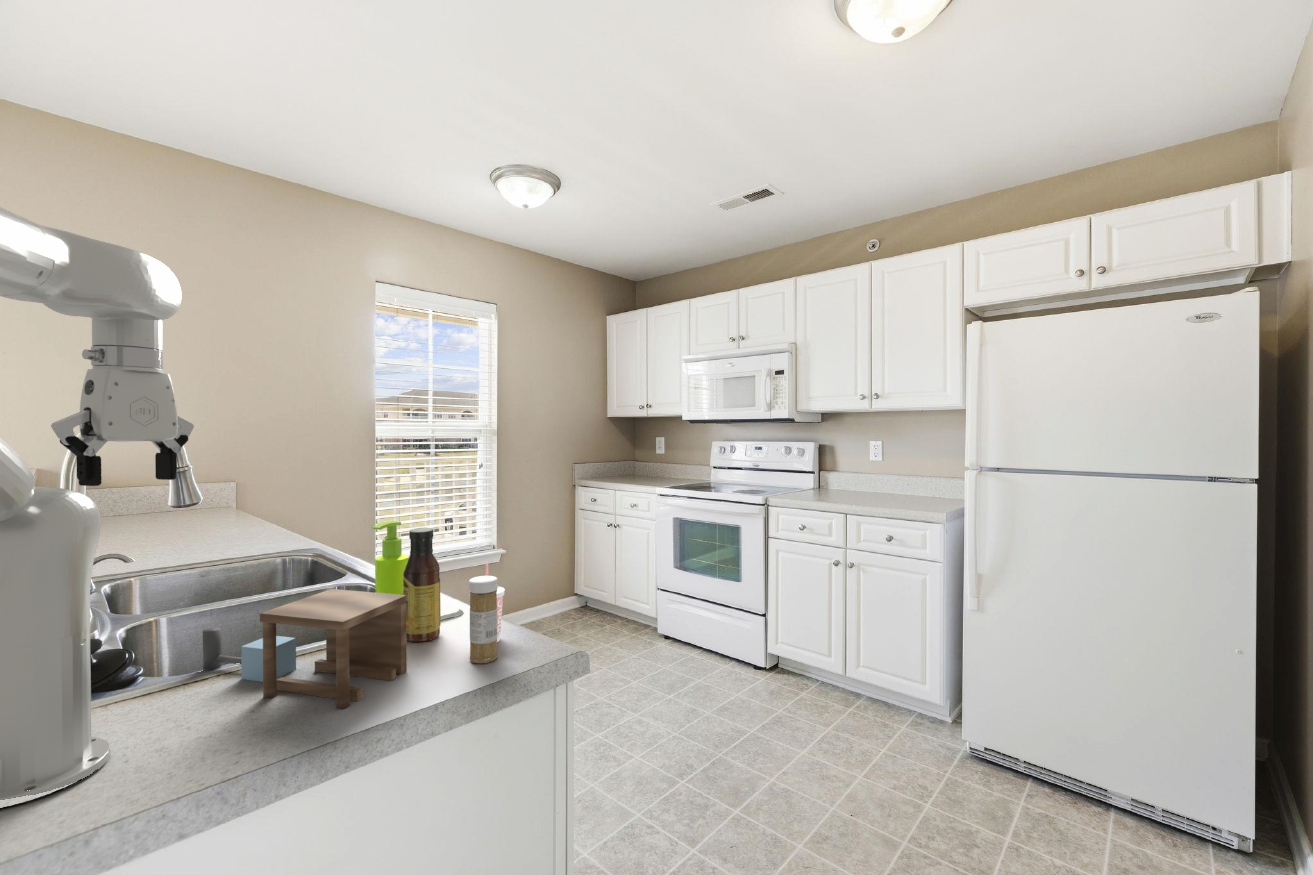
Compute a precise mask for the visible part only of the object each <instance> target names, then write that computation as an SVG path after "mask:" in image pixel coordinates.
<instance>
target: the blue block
mask: <svg viewBox="0 0 1313 875" xmlns="http://www.w3.org/2000/svg"><path fill="white" fill-rule="evenodd" d="M222 633H223V632H222V627H221V626H214V627H209V628H205V629H202V670H203V671H211V669H213V670H216V668H217V669H219V668H222V666H223V665H222V664H223V663H225V664H233V665H237V664H236V663H240V664H239V666H240V669H241V674H240V675H241V680H244V679H246V681H252V682H253V681H254V682H260V683H263V637H262V638H259V639H257V640H253V641H252V642H249V643H247V644H244V645H241V646H240V650H241V651H240V653H241V656H239V657H238V656H231V655H223V654H222V653H223V652H222V651H223V649H222V646H223V645H222V644H223V641H222V640H223V639H222V638H223V637H222ZM218 667H219V668H218ZM276 670H277V679H279V678H281V677H283V676H285V675H287V674H289V673H292V672H294V671H296V670H297V638H296V637H291V636H280V635H276Z"/></svg>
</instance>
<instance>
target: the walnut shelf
mask: <svg viewBox="0 0 1313 875" xmlns="http://www.w3.org/2000/svg"><path fill="white" fill-rule="evenodd" d="M259 622H260V623H262V638H263V682H262V697H263V699H265V700H266V699H271V698H275V697H276V696H277V695H278V694H277V693H278V691H281V692H285V693H286V692H287V693H294V694H301V695H308V696H316V697H322V698H331V699H335V701H336V702H335V706H336V710H344V709H347V708H349V707H350V702H356V703H357V702H358V701H360V700H362V699H363V687H359V686H350V676H351V677H359V678H366V679H367V678H368V679H374V680H383V681H391V682H392V681H393V680H395V679H396V678H397V676H396V675H403V674H405V673H406V672H407V666H408V665H407V661H408V658H407V652H408V651H407V650H408V649H407V639H406V595H397V594H385V593H375V592H374V591H373V592H371V591H361V590H351V589H350V590H348V589H347V590H346V589H339V588H330V589H327V590H324V591H322V592H319V593H316V594H312V595H310V596H307V597H304V598H301V599H298V600H295V601H292V602H289V603H286V604H283V605H281V606H277V607H274V608H271V609H268V610H265V611H262V612H259ZM278 624H279V625H286V626H287V625H288V626H294V627H295V626H296V627H305V628H306V627H307V628H315V629H324V630H325V631H326V632H325V633H326V634H325V638H326V639H325V640H326V641H325V645H326V647H325V649H326V651H325V652H326V654H325V657H326V658H325V659H323V658H319V659H317V660H315V661H314V671H315V672H320V673H326V674H327V673H329V674H335V682H336V683H330V682H329V683H328V682H321V681H313V680H306V679H298V678H290V677H283V676H281V677H279V678H277V670H276V636H277V625H278ZM407 673H408V672H407Z"/></svg>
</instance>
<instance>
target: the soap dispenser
mask: <svg viewBox="0 0 1313 875" xmlns="http://www.w3.org/2000/svg"><path fill="white" fill-rule="evenodd" d="M398 526H402V522H401V521H395V520H394V521H393V520H392V521H384V522H380V523H377V524H374V525H373V526H372V527H371V528H372V530H383V529H385V528H386V537H384V539H382V541H381V542H382V543H381V544H382V545H381V546H382V547H381V550H382V552H381V553H382V555H381V556H378V557H375V560H374V563H375V564H374V567H375V568H374V575H375V576H374V577H375V578H374V579H375V580H374V581H375V582H374V585H375V586H374V590H375V592H374V593H385V594H397V595H403V573H404V570H405V568H406V565H407V562H408V559H409V555H407V554H403V552H402V538H401V537H398V534H397V533H398V532H397V529H398Z"/></svg>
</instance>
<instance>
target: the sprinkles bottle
mask: <svg viewBox="0 0 1313 875" xmlns="http://www.w3.org/2000/svg"><path fill="white" fill-rule="evenodd" d="M498 582H499V581H498V577H496V576H493V575H488V576H486V575H480V576H474V577H472V578H470V579H469V580H468V592H470V594H469V647H470V648H469V650H470V651H469V661H471V662H472V663H473V664H488V663H491V662H493V661H495V660H497V658H498V656H499V655H498V642H497V589H498V587H499V586H498V585H499V584H498Z"/></svg>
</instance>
